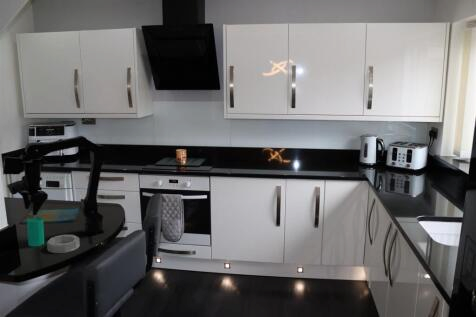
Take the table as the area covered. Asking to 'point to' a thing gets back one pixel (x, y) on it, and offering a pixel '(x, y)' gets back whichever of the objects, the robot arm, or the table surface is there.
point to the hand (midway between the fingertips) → (30, 212)
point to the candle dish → (63, 244)
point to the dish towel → (54, 216)
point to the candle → (35, 231)
